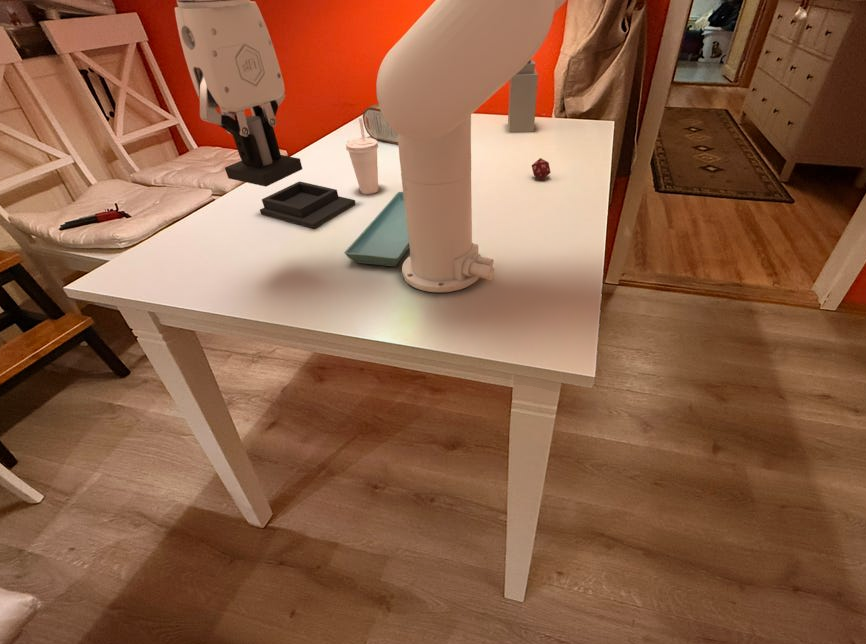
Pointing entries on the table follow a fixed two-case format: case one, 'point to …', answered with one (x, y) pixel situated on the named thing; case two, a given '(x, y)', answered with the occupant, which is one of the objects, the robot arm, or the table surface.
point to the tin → (378, 125)
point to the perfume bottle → (523, 99)
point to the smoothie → (364, 161)
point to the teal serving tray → (383, 236)
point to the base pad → (305, 204)
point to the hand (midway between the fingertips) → (262, 160)
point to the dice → (541, 169)
